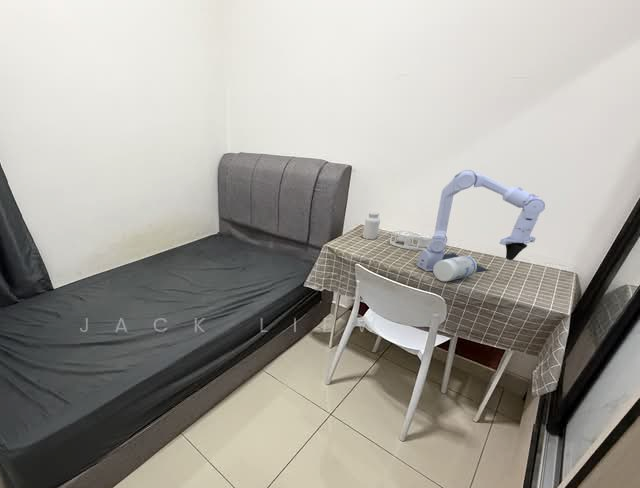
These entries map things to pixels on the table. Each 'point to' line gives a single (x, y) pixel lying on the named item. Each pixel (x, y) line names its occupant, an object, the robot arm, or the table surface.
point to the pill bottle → (371, 226)
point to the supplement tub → (455, 268)
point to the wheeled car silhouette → (405, 237)
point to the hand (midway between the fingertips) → (509, 259)
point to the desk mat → (448, 256)
